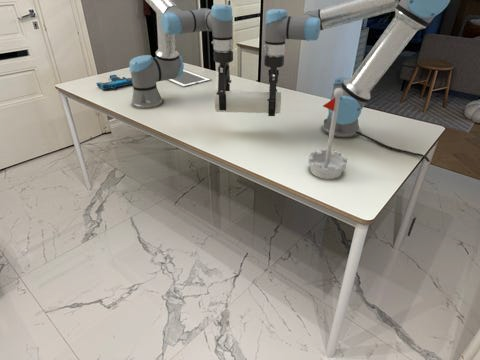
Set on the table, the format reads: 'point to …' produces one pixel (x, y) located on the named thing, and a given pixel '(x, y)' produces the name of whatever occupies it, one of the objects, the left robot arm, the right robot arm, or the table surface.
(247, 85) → the table surface
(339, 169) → the flag stand
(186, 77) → the tablet
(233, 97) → the white cylinder
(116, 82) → the submachine gun
